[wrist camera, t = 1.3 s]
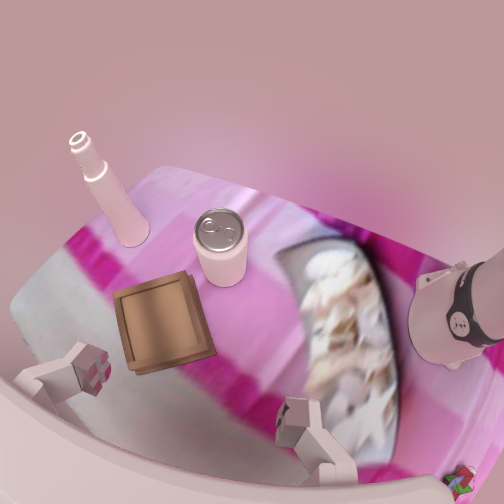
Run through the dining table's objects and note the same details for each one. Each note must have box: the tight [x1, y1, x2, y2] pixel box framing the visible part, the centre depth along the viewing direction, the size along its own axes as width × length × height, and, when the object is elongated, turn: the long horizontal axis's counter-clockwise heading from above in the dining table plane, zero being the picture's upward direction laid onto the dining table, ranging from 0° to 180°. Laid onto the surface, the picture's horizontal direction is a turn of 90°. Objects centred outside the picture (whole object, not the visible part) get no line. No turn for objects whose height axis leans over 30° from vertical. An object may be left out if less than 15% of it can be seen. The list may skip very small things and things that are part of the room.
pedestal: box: [112, 270, 217, 375], centre depth 35 cm, size 12×12×5 cm
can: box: [193, 208, 248, 287], centre depth 36 cm, size 6×6×12 cm
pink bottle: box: [69, 131, 150, 247], centre depth 34 cm, size 6×6×22 cm
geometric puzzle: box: [443, 465, 477, 501], centre depth 22 cm, size 7×7×8 cm
